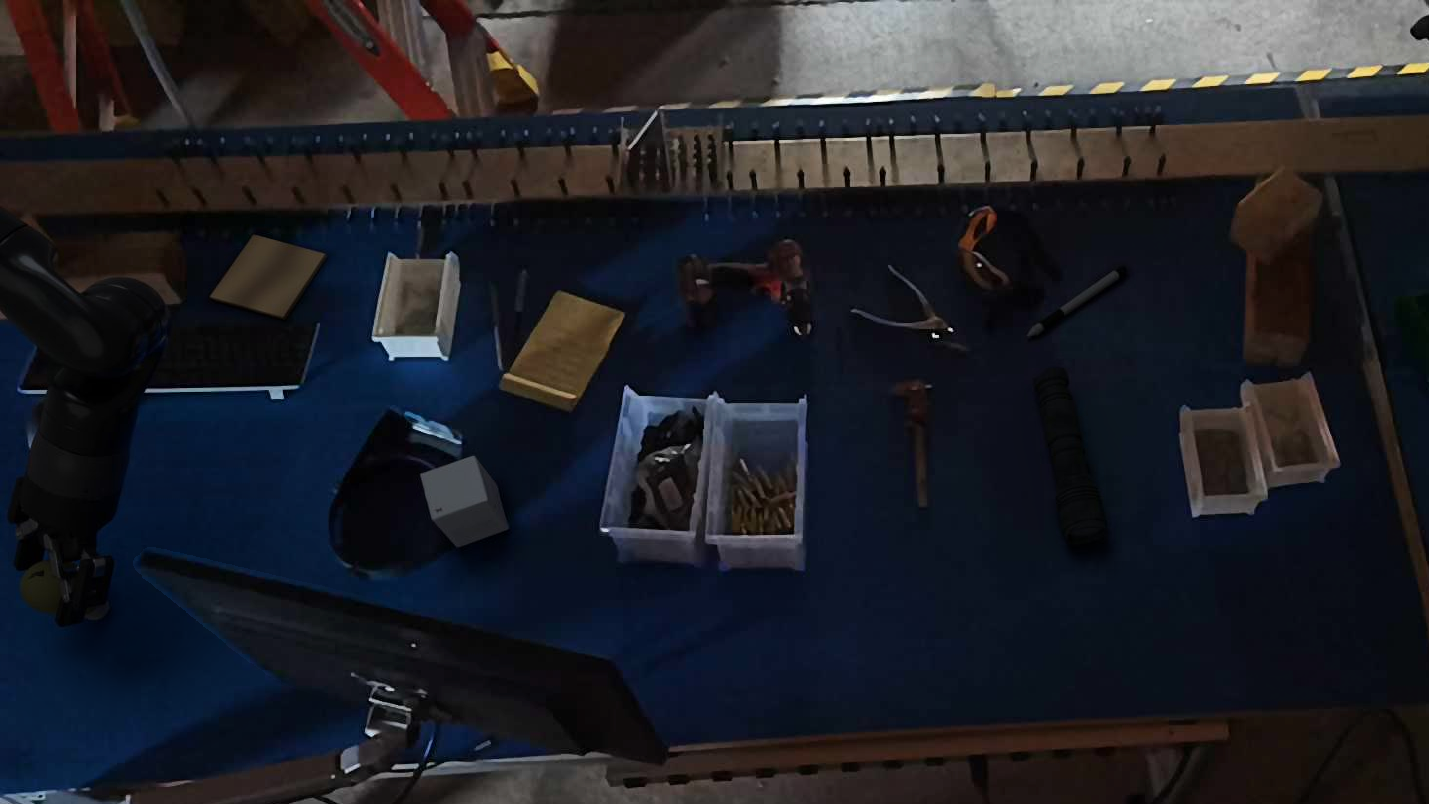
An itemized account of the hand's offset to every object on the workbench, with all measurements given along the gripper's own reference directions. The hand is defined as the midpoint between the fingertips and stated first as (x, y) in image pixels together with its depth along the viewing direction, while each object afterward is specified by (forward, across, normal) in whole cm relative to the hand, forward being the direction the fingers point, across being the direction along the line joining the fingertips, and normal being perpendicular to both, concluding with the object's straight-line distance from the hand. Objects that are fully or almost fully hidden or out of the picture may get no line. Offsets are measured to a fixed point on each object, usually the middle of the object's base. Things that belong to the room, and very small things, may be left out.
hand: (47, 595), depth 114 cm
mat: (-22, -26, +31) cm, 46 cm away
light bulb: (+4, 0, +6) cm, 7 cm away
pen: (-69, +48, +79) cm, 115 cm away
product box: (-20, +19, +30) cm, 41 cm away
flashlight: (-57, +61, +66) cm, 107 cm away
